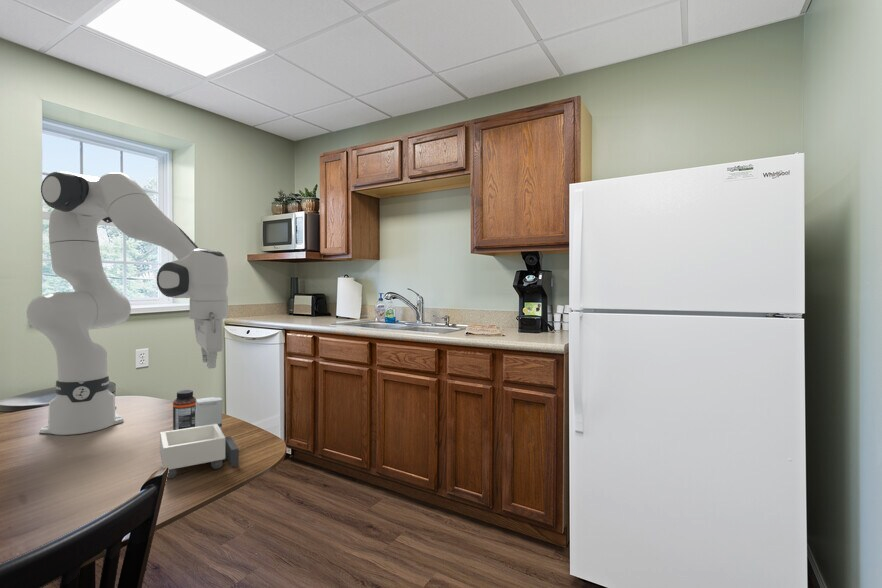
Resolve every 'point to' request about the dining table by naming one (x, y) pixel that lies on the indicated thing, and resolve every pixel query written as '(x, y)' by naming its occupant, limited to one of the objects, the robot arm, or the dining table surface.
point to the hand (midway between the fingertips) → (208, 364)
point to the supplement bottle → (184, 410)
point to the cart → (192, 447)
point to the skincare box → (208, 411)
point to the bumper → (231, 451)
